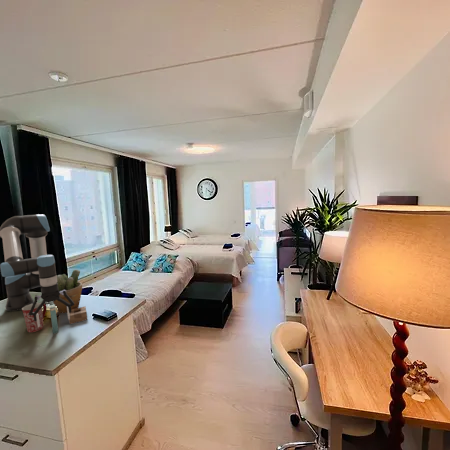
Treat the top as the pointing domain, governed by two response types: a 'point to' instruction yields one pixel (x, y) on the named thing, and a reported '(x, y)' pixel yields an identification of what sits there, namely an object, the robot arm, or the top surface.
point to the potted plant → (69, 290)
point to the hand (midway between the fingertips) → (54, 322)
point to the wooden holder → (78, 315)
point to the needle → (54, 319)
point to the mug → (29, 319)
